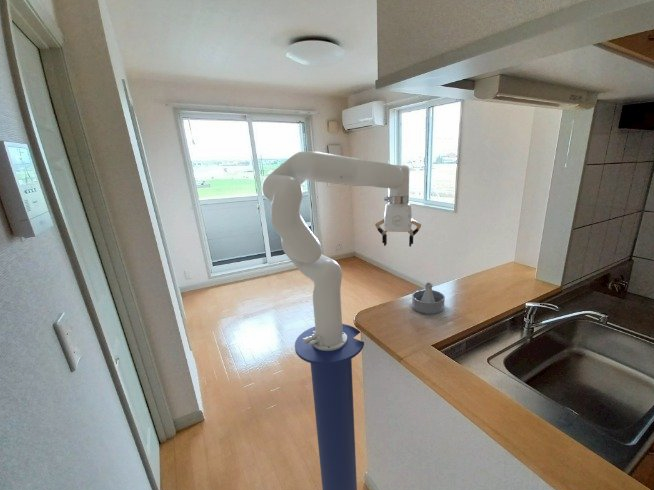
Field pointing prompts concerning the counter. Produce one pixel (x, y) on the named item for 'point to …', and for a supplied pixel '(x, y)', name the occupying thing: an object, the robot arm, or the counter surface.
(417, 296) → the bowl
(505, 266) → the counter surface
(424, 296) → the flask
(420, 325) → the counter surface
